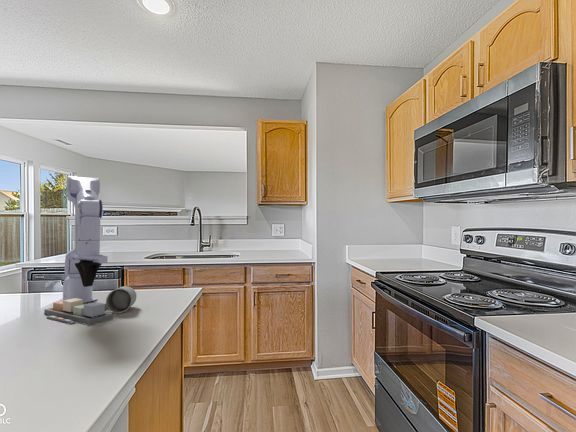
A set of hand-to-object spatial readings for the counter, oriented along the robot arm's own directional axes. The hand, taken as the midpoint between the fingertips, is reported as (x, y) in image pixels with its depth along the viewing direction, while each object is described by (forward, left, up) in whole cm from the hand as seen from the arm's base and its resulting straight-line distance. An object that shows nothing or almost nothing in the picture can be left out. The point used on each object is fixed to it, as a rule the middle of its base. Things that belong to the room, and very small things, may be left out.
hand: (87, 286), depth 100 cm
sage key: (-2, 0, -9) cm, 9 cm away
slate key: (+3, 0, -8) cm, 9 cm away
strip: (-5, -5, -10) cm, 12 cm away
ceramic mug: (-1, +11, -10) cm, 15 cm away
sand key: (-7, 0, -8) cm, 11 cm away
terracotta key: (-12, 0, -9) cm, 15 cm away
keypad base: (-5, 0, -10) cm, 11 cm away
